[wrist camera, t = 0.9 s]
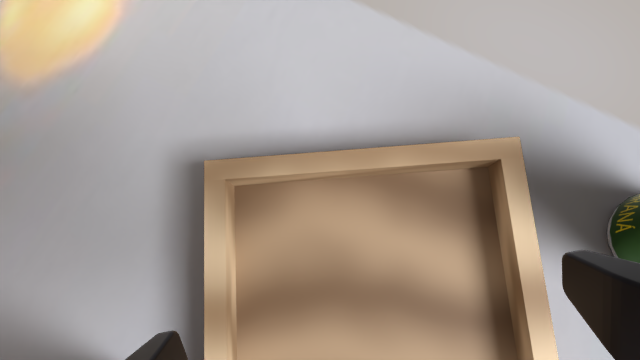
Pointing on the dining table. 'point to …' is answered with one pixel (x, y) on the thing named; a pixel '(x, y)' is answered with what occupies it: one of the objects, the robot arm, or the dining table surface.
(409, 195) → the wooden tray
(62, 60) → the dining table surface
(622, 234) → the beer can
